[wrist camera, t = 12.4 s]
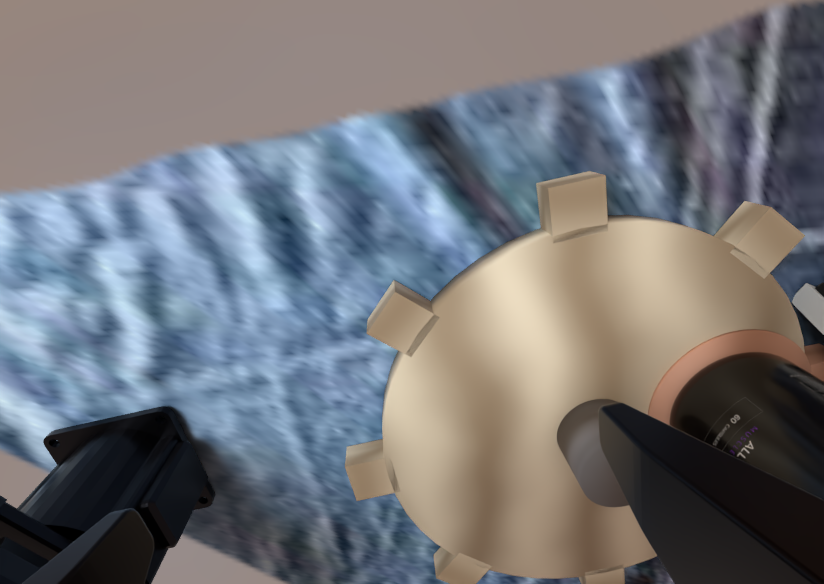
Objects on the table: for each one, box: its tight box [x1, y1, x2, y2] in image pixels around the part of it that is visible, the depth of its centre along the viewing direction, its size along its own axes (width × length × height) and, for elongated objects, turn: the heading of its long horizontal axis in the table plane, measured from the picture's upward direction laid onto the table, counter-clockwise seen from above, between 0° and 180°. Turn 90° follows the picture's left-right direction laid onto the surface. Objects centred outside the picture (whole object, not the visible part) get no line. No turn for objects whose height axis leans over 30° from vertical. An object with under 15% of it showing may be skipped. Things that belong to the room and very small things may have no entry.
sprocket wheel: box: [345, 171, 824, 584], centre depth 22 cm, size 26×26×4 cm
